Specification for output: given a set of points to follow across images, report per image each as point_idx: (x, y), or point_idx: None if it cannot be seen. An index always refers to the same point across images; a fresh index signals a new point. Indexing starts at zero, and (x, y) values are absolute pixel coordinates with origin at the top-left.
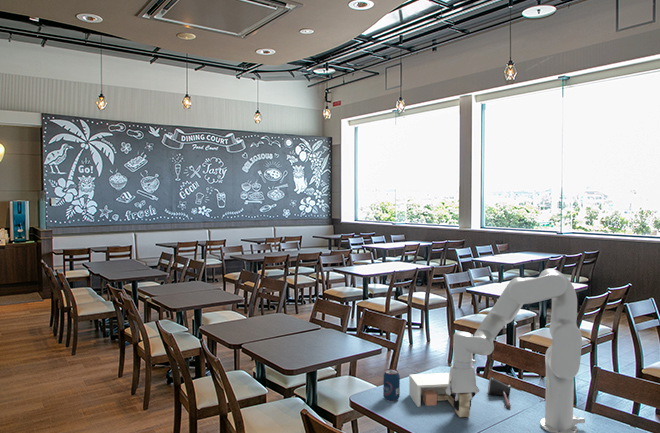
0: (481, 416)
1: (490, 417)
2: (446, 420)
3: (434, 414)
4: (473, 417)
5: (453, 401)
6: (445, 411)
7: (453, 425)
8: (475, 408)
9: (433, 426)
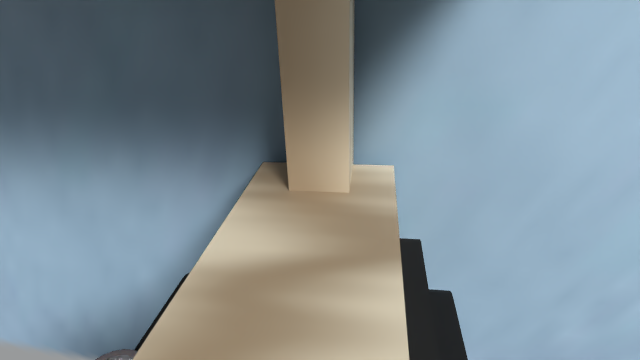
0: (541, 281)
1: (630, 316)
2: (143, 282)
3: (33, 157)
4: (435, 283)
5: (152, 324)
6: (162, 104)
7: None
8: (632, 72)
9: (33, 337)
